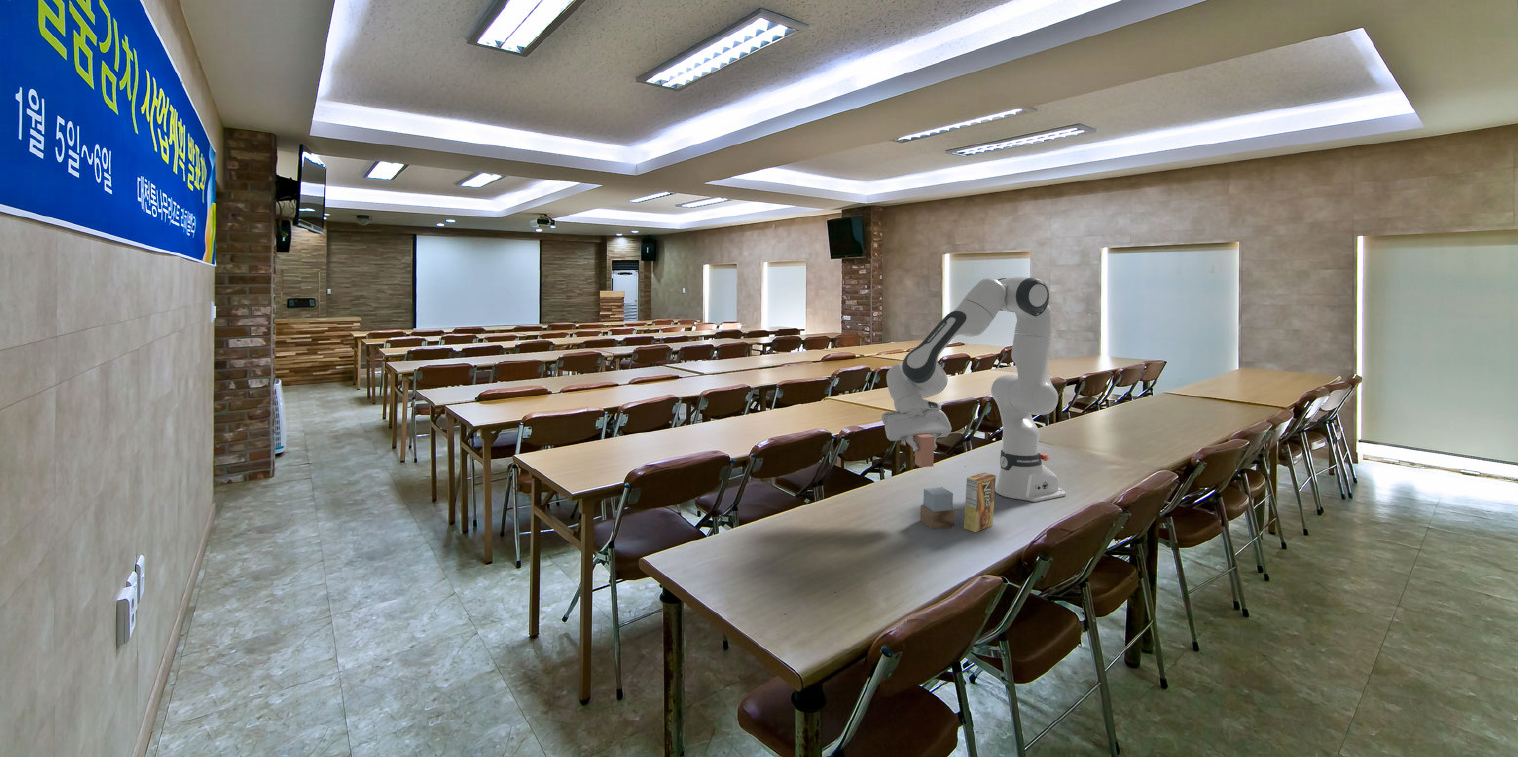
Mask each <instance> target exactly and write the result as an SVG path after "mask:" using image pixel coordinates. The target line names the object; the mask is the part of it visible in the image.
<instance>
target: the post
mask: <svg viewBox="0 0 1518 757" xmlns="http://www.w3.org/2000/svg"><path fill="white" fill-rule="evenodd" d="M914 440H915V441H914V442H915V443H916V444H918V443H919V446H920V450H919V451H914V464H915V465H916V466H918V467H920V468H930V467H934V464H935V462H934V460H935V459H934V458H935V456H934V455H935V450H934V436H932V435H930V434H918V435H916V439H914Z"/></svg>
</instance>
